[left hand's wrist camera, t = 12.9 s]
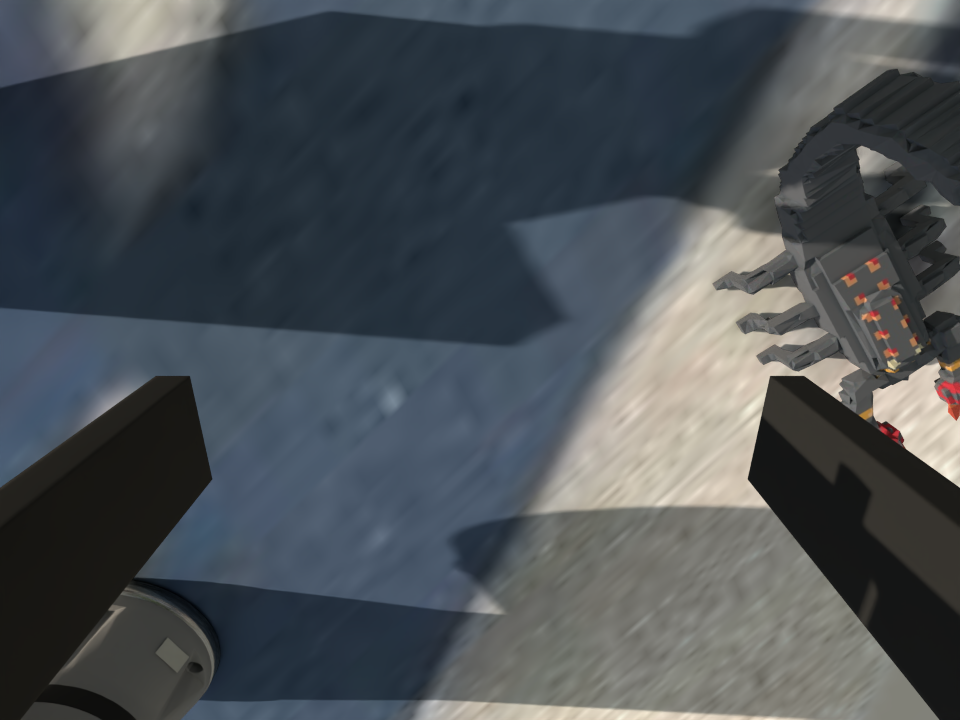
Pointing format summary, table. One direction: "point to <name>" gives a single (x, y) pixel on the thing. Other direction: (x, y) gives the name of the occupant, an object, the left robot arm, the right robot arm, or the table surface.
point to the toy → (868, 242)
